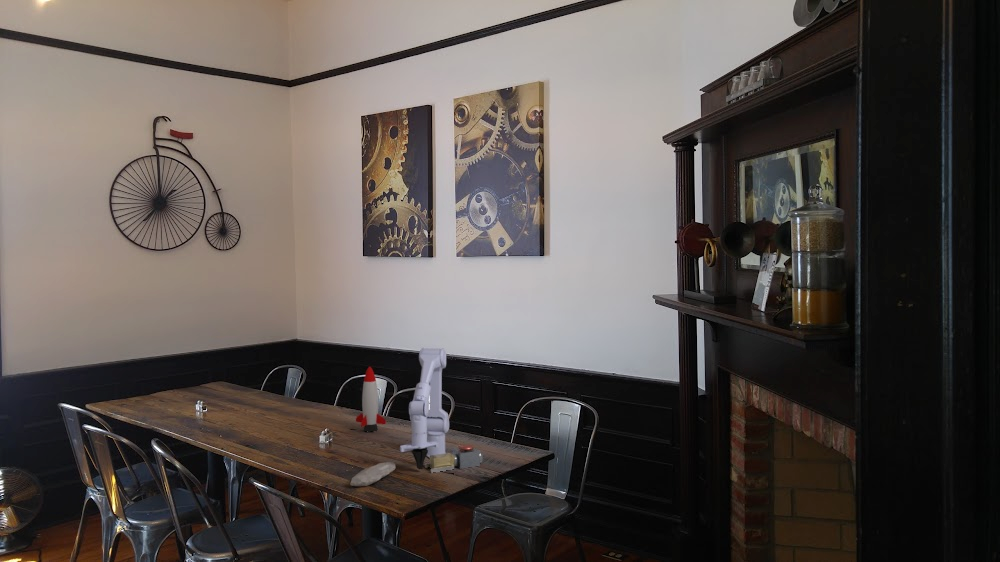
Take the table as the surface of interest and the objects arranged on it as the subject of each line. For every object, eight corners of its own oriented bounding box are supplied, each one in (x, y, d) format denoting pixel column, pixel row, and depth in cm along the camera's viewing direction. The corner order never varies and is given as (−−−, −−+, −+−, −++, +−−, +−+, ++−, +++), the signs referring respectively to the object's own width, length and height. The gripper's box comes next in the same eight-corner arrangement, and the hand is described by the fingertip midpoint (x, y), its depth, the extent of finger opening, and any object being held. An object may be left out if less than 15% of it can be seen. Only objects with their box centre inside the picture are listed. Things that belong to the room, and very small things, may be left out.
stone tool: (341, 474, 243) (381, 454, 265) (341, 488, 243) (381, 467, 266) (368, 477, 238) (407, 457, 261) (369, 492, 238) (407, 470, 261)
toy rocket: (354, 430, 326) (361, 366, 331) (378, 432, 330) (384, 368, 336) (360, 432, 315) (367, 366, 321) (384, 433, 320) (390, 368, 325)
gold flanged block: (429, 468, 264) (429, 455, 264) (449, 465, 267) (449, 452, 267) (434, 471, 259) (433, 458, 259) (454, 469, 263) (454, 455, 262)
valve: (424, 467, 265) (424, 448, 265) (476, 460, 274) (476, 441, 273) (431, 473, 257) (431, 453, 257) (484, 465, 266) (484, 446, 266)
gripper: (403, 437, 253) (404, 474, 253) (441, 432, 259) (441, 468, 259) (398, 432, 259) (398, 468, 259) (434, 428, 265) (435, 463, 265)
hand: (419, 468), depth 260 cm, fingers closed
